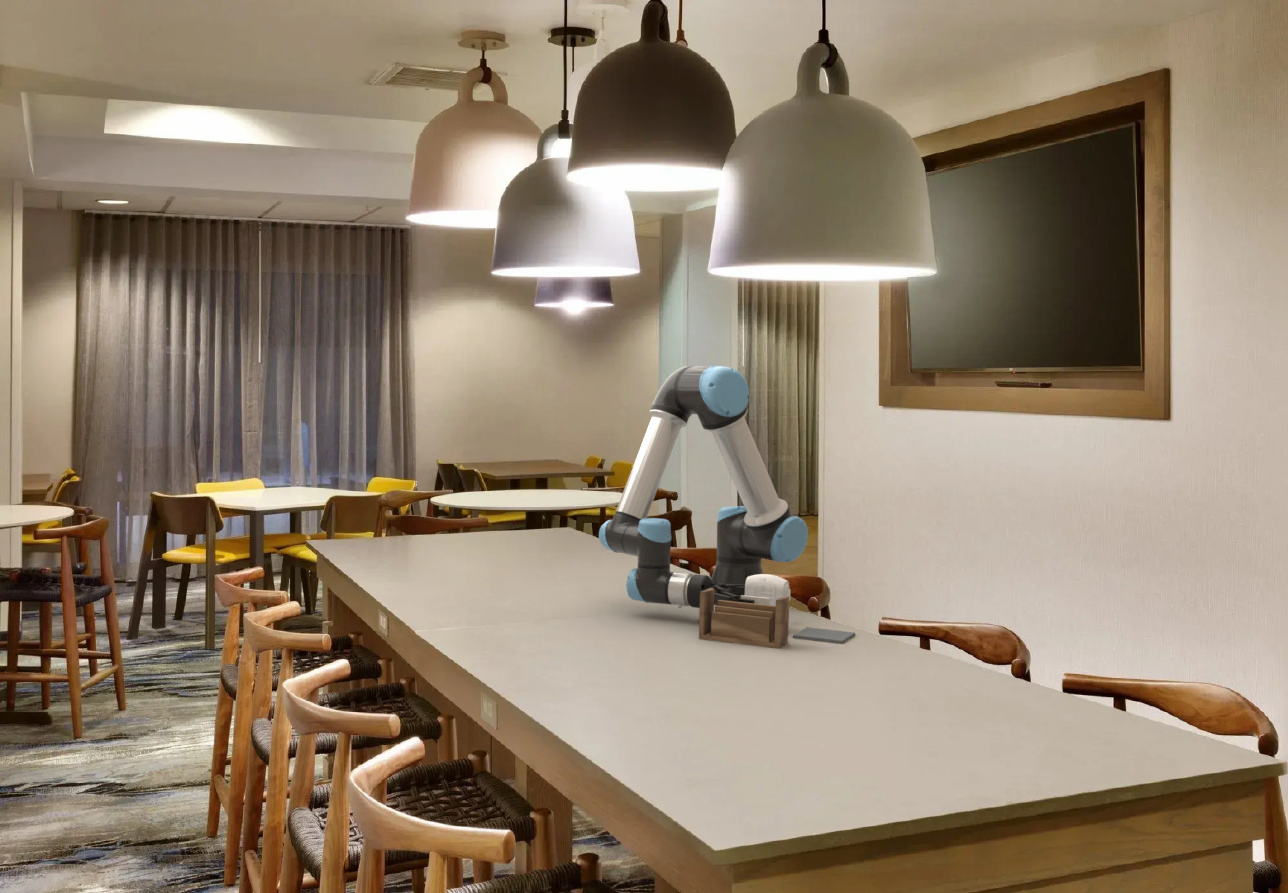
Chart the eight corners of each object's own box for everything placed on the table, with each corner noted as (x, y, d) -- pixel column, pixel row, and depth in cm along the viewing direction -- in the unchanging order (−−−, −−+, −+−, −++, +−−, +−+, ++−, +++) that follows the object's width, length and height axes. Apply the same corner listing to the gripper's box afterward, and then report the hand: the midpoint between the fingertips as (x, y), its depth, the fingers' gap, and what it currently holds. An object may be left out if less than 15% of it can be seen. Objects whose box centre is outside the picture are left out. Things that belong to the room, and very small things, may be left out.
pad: (807, 629, 268) (807, 627, 268) (855, 635, 263) (855, 632, 263) (792, 637, 259) (792, 635, 259) (842, 643, 254) (842, 640, 254)
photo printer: (790, 631, 266) (792, 575, 265) (783, 634, 262) (784, 578, 262) (748, 625, 271) (750, 571, 271) (740, 628, 267) (742, 573, 267)
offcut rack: (708, 633, 261) (710, 588, 260) (787, 643, 253) (789, 596, 252) (698, 638, 255) (700, 591, 255) (779, 648, 248) (780, 600, 247)
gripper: (712, 598, 286) (797, 607, 276) (668, 615, 263) (759, 626, 254) (713, 567, 285) (798, 575, 276) (669, 581, 263) (760, 591, 254)
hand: (780, 599), depth 265 cm, fingers open, 13 cm apart
